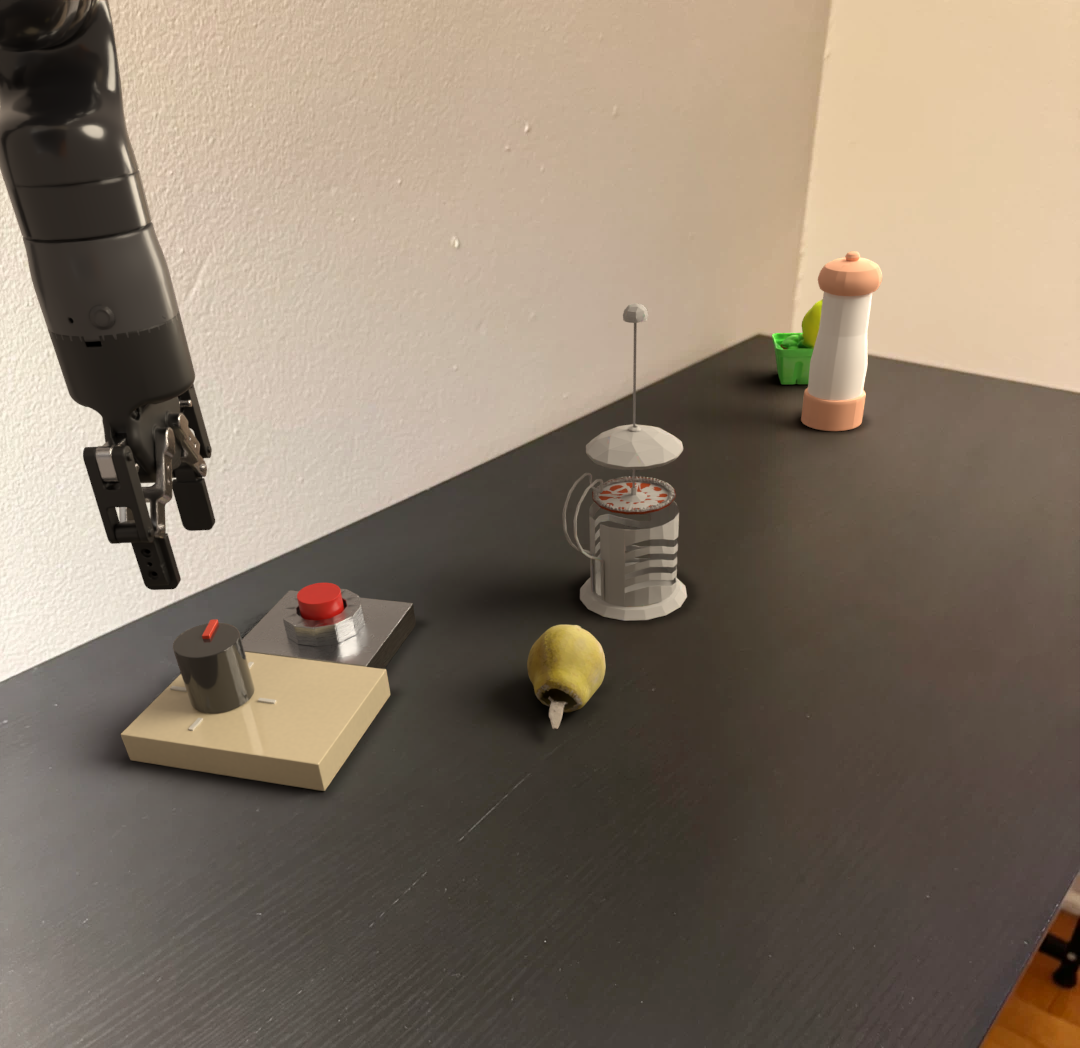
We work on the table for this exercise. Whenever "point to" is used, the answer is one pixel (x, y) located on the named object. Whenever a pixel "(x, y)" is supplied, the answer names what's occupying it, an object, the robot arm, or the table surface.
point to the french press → (617, 575)
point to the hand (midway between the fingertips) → (183, 556)
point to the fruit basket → (797, 349)
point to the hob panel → (266, 723)
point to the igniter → (335, 631)
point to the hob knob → (214, 667)
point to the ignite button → (320, 601)
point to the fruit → (565, 669)
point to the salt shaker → (841, 345)
